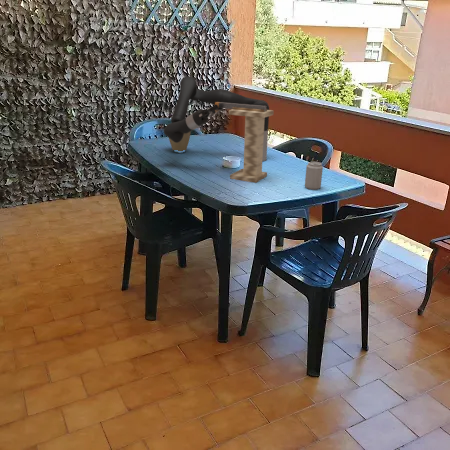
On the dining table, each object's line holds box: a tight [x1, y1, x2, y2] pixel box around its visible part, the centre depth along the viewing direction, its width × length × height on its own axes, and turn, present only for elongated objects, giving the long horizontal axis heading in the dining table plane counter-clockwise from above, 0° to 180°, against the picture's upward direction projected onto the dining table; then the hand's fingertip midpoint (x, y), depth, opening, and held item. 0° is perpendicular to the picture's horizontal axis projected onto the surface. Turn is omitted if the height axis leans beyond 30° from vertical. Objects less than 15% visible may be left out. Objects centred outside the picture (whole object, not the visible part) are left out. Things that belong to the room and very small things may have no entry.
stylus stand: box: [228, 107, 275, 184], centre depth 222 cm, size 18×14×34 cm
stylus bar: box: [215, 102, 266, 112], centre depth 218 cm, size 26×2×2 cm, turn 63°
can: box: [304, 161, 324, 191], centre depth 212 cm, size 8×8×12 cm
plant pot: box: [168, 131, 192, 151], centre depth 276 cm, size 15×15×16 cm
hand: (221, 105), depth 222 cm, fingers open, 8 cm apart
